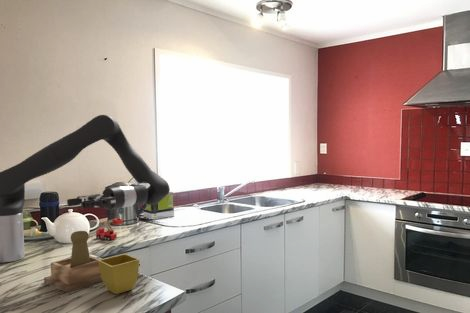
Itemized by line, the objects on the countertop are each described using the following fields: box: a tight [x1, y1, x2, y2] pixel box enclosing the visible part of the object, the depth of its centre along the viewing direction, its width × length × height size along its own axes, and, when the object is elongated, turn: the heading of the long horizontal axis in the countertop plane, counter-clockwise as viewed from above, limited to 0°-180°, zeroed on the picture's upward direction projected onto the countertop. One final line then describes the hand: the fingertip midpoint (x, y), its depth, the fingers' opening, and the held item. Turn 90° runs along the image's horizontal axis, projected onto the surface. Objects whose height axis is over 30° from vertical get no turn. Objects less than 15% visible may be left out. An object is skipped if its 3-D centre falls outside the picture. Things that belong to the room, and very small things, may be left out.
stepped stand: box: [43, 255, 103, 294], centre depth 116 cm, size 14×14×6 cm
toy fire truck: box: [95, 217, 124, 241], centre depth 167 cm, size 3×14×10 cm, turn 65°
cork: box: [70, 230, 91, 268], centre depth 115 cm, size 6×6×11 cm
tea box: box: [142, 191, 175, 220], centre depth 217 cm, size 15×10×15 cm
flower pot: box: [98, 253, 140, 295], centre depth 107 cm, size 9×9×9 cm
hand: (74, 203), depth 115 cm, fingers open, 8 cm apart
